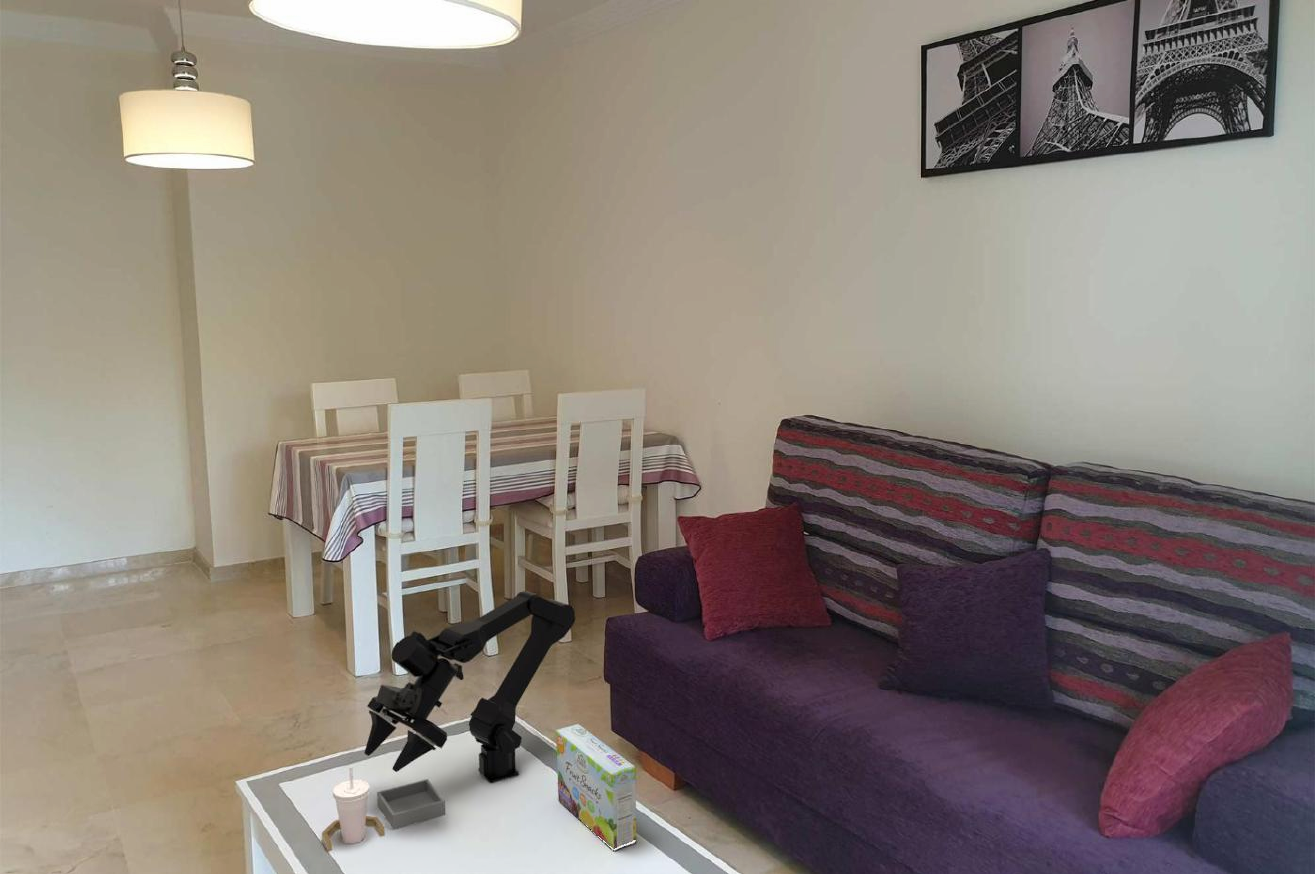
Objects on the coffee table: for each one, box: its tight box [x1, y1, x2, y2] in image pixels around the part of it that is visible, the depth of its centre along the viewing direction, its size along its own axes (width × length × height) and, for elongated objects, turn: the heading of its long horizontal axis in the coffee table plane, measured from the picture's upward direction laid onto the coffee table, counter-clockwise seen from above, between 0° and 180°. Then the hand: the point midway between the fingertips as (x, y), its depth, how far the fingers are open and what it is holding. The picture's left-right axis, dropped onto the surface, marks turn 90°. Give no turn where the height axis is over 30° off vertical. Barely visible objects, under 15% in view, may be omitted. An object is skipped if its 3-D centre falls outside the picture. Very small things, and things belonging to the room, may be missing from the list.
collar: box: [321, 815, 386, 852], centre depth 184 cm, size 10×7×2 cm
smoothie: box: [332, 765, 371, 844], centre depth 181 cm, size 6×6×14 cm
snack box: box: [555, 723, 637, 849], centre depth 187 cm, size 21×6×15 cm, turn 34°
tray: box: [376, 778, 447, 830], centre depth 192 cm, size 10×10×3 cm
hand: (380, 762), depth 185 cm, fingers open, 9 cm apart
